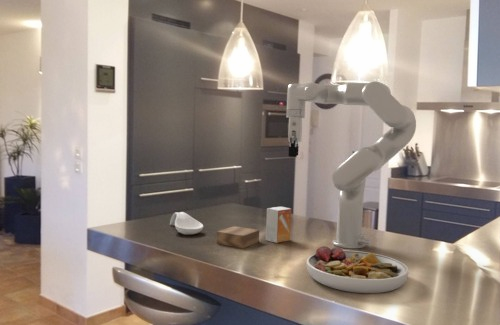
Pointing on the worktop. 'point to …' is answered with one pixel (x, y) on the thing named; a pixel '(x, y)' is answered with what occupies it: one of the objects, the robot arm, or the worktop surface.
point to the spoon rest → (185, 223)
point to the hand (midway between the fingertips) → (293, 155)
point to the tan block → (238, 236)
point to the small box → (278, 224)
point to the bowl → (356, 270)
